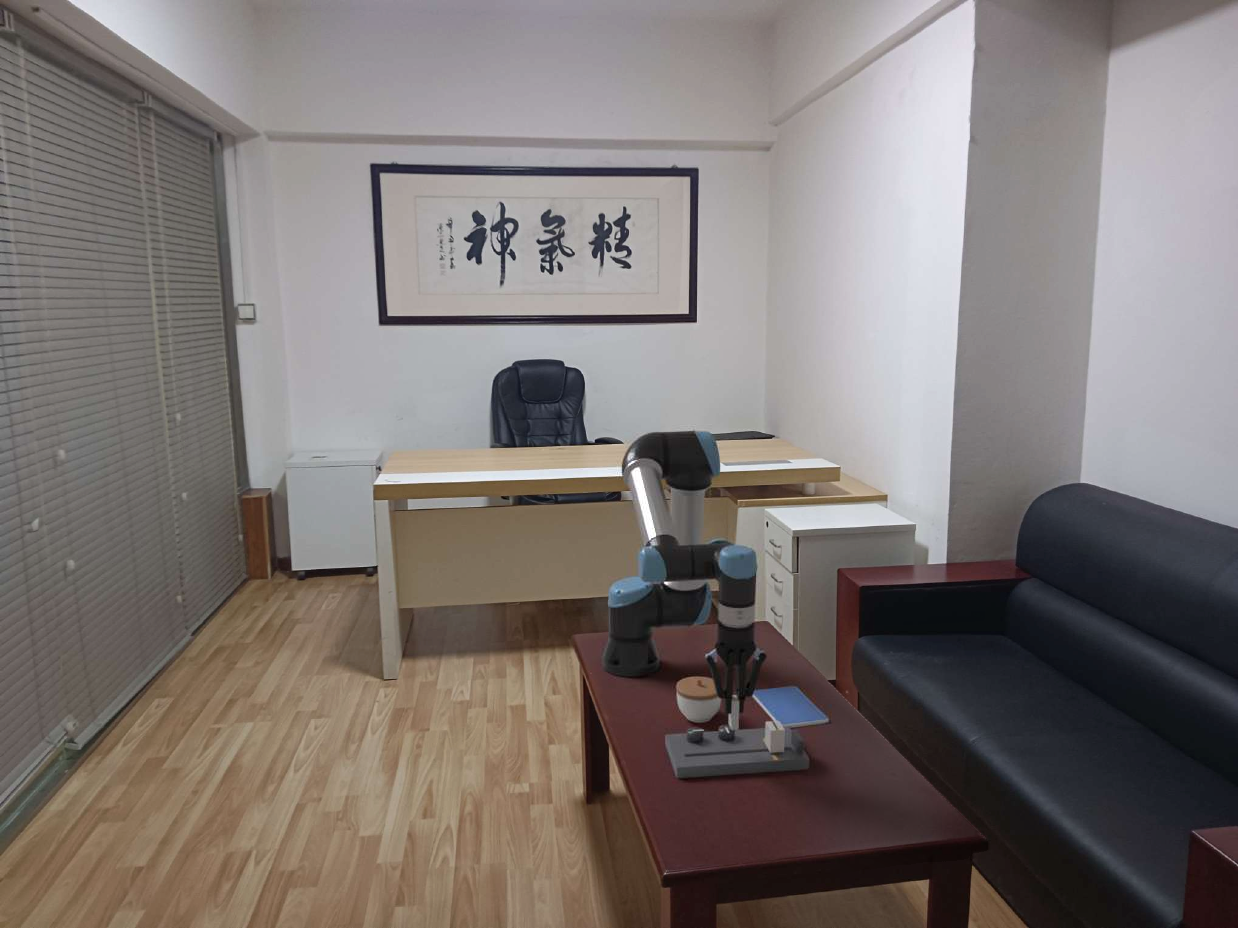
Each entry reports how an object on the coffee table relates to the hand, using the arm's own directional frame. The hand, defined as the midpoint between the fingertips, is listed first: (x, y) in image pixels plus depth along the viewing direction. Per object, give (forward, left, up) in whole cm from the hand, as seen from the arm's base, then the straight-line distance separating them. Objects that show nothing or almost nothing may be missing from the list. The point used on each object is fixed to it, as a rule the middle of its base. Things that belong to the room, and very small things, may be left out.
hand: (733, 726), depth 188 cm
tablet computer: (-23, +19, -9) cm, 31 cm away
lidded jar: (-21, -3, -8) cm, 23 cm away
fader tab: (+1, +9, -5) cm, 10 cm away
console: (-2, +1, -8) cm, 8 cm away
